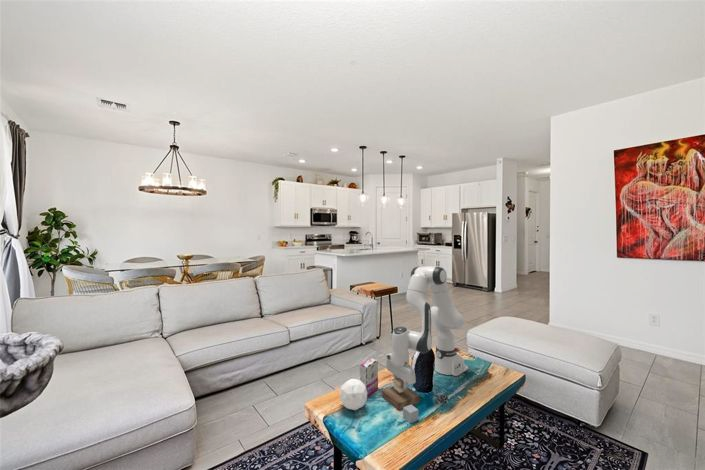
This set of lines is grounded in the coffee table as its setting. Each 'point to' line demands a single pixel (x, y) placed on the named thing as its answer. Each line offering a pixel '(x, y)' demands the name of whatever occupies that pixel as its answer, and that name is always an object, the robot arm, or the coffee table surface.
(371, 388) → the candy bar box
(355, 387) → the geodesic sphere
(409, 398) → the walnut base block
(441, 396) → the car cutout
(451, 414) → the coffee table surface
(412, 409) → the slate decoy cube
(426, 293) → the robot arm
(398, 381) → the maple cube
